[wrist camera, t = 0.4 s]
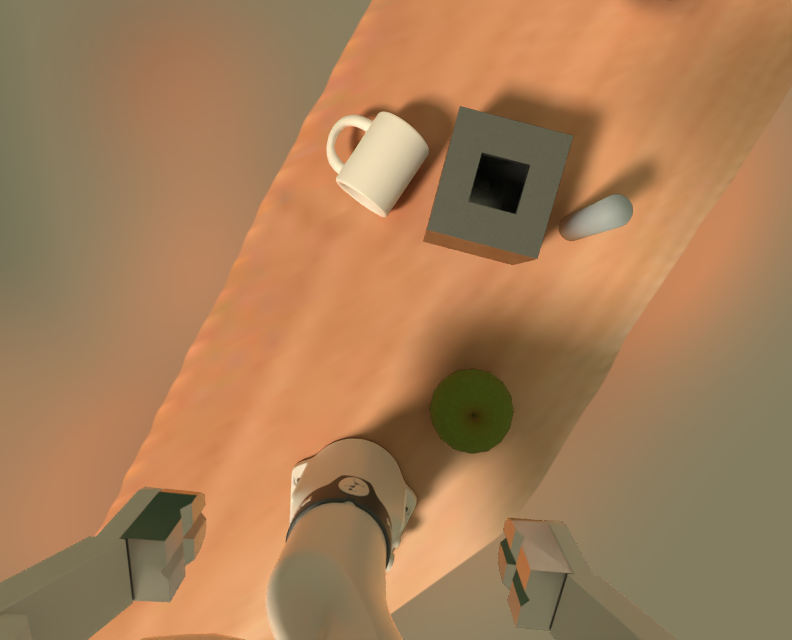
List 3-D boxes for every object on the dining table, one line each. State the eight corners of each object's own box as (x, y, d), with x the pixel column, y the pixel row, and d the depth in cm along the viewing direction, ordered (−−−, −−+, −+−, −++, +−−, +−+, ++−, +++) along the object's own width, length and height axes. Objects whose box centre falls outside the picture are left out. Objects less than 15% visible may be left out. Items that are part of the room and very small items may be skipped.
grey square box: (512, 265, 53) (537, 258, 43) (423, 241, 53) (426, 229, 43) (541, 165, 52) (573, 135, 42) (449, 141, 52) (459, 106, 42)
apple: (490, 440, 55) (509, 473, 45) (420, 424, 55) (423, 454, 45) (508, 369, 54) (531, 386, 44) (436, 353, 54) (443, 366, 44)
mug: (428, 162, 52) (432, 139, 44) (387, 222, 53) (384, 210, 45) (356, 112, 52) (348, 79, 44) (317, 173, 53) (301, 152, 45)
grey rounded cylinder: (580, 243, 52) (627, 231, 41) (555, 237, 52) (595, 222, 41) (588, 218, 52) (637, 198, 41) (563, 211, 52) (605, 190, 41)
